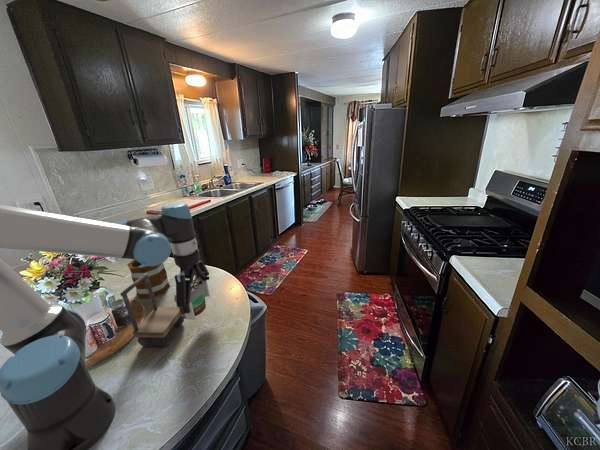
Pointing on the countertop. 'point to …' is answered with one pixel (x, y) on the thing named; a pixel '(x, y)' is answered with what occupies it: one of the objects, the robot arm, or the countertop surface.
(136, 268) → the mug
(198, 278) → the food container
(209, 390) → the countertop surface
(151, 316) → the trolley
